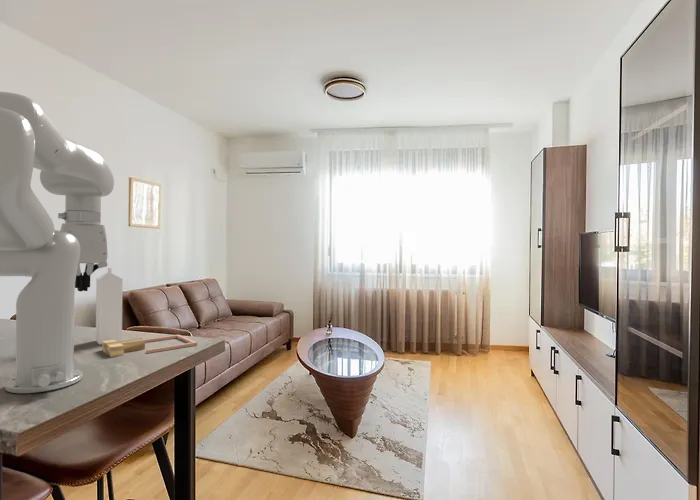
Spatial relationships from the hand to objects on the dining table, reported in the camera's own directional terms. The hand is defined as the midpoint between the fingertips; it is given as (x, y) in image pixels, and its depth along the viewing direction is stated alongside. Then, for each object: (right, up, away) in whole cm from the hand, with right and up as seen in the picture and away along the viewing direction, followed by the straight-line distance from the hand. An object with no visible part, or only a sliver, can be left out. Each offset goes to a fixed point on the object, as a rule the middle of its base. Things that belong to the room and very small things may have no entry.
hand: (82, 290), depth 101 cm
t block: (+7, -17, +7) cm, 20 cm away
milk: (-4, -17, +17) cm, 25 cm away
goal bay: (+14, -17, +14) cm, 26 cm away
